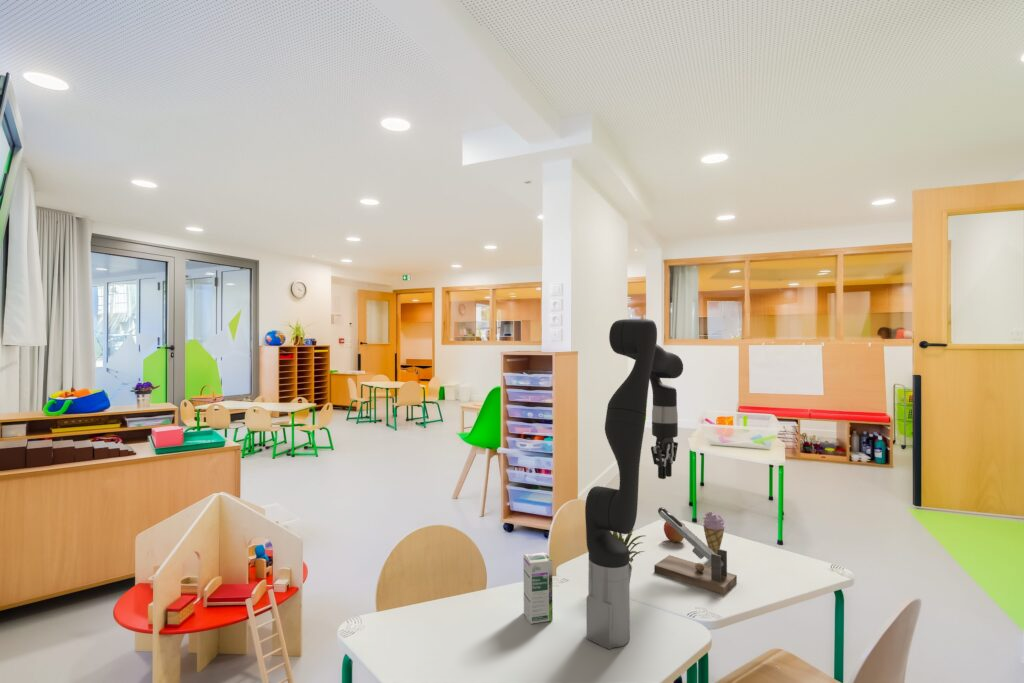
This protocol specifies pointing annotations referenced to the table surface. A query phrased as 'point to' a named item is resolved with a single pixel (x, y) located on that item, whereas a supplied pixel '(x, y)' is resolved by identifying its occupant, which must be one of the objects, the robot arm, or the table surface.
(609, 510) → the robot arm
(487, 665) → the table surface
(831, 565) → the table surface
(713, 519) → the ice cream cone
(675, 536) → the apple
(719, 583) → the press base
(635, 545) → the house plant
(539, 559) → the syrup box
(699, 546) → the lever
